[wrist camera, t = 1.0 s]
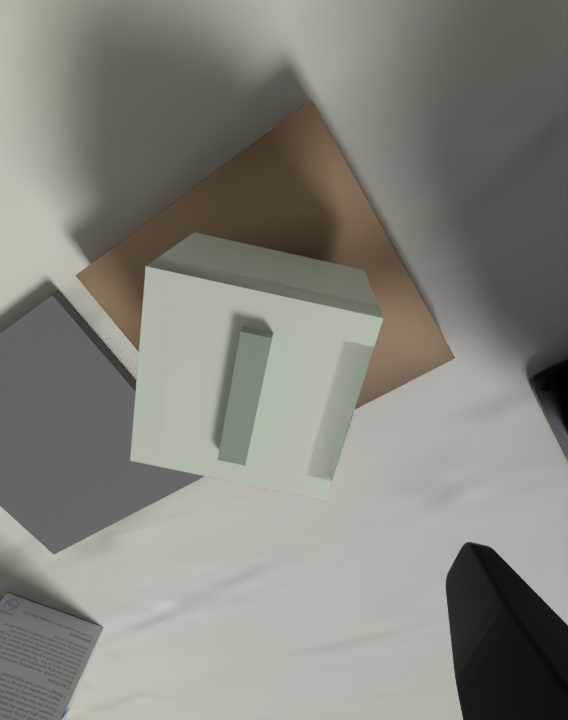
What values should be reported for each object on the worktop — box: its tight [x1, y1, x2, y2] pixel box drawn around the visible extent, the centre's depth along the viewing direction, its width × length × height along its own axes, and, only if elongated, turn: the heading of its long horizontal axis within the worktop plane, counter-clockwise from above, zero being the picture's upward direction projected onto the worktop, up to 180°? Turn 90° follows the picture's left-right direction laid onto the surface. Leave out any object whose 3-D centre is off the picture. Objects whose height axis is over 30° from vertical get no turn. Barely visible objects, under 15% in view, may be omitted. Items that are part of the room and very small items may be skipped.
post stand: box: [75, 100, 455, 409], centre depth 17 cm, size 11×11×7 cm
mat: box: [0, 291, 204, 554], centre depth 23 cm, size 11×11×1 cm
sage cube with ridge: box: [130, 232, 383, 501], centre depth 15 cm, size 6×6×5 cm
